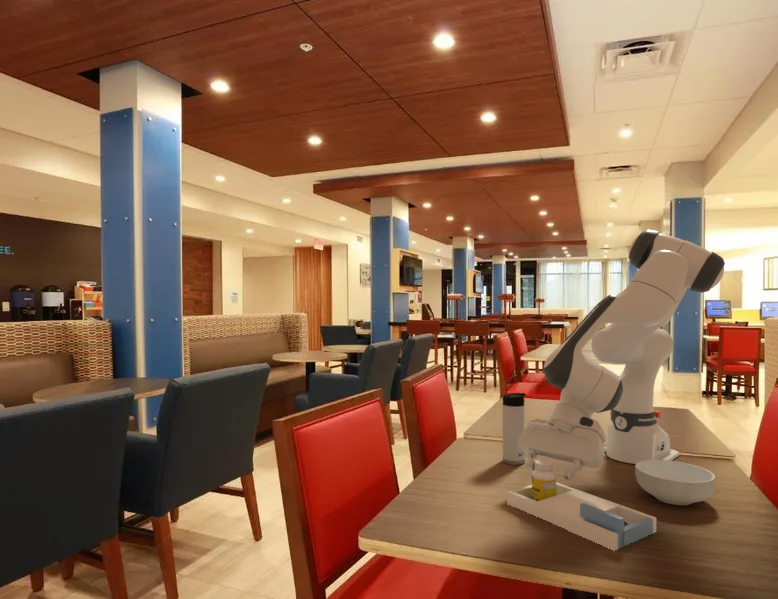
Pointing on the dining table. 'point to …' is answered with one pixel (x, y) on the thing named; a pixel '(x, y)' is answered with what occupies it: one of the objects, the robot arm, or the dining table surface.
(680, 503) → the cereal bowl
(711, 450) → the dining table surface
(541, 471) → the supplement bottle
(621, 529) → the pocket rack
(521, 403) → the travel mug
